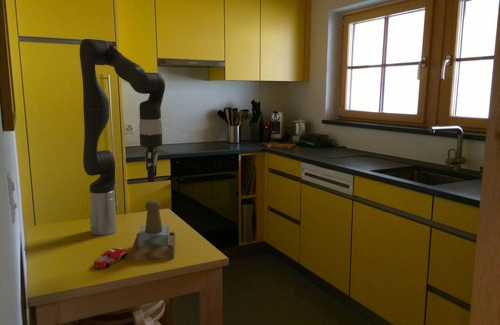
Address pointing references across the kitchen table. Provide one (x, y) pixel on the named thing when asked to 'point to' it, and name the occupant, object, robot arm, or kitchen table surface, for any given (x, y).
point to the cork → (153, 217)
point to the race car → (110, 258)
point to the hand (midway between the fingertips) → (152, 178)
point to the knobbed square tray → (154, 245)
